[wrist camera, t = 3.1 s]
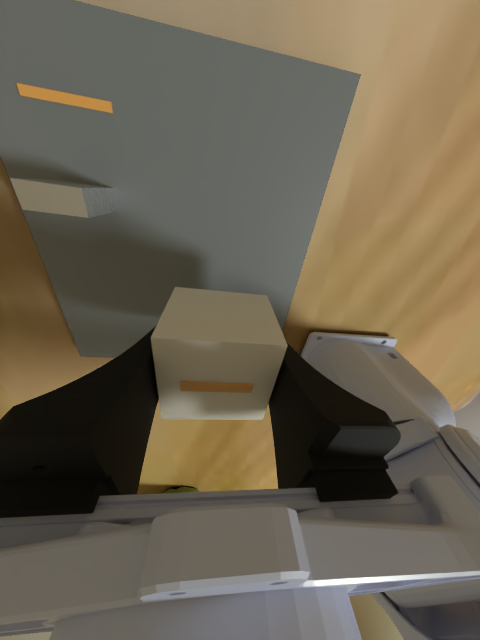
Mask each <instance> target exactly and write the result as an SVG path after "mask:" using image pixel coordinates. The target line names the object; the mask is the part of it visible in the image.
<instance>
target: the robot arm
mask: <svg viewBox="0 0 480 640" xmlns="http://www.w3.org/2000/svg"><path fill="white" fill-rule="evenodd" d="M156 326H157V325H156ZM156 326H155V327H154V328H153V329H152V330H151V331H149V332H148V333H147V334H146V335H145V336H144V337H143V338H141V339H140V340H139V341H138V342H137V343H135V344H134V345H133V346H131V347H130V348H129V349H127V350H126V351H125V352H123V353H122V354H121V355H119V356H118V357H116V358H115V359H113V360H111V361H110V362H108V363H107V364H105V365H103V366H102V367H100V368H98V369H96V370H94V371H92V372H91V373H89V374H87V375H85V376H83V377H81V378H79V379H77V380H75V381H73V382H71V383H69V384H67V385H65V386H62V387H60V388H58V389H56V390H53V391H51V392H49V393H46V394H44V395H41V396H39V397H36V398H34V399H31V400H29V401H26V402H24V403H21V404H19V405H16V406H13V407H12V408H11V409H10V410H9V411H8V412H7V413H6V414H5V415H4V416H3V417H2V419H1V420H0V637H1V636H11V635H21V634H30V633H39V632H50V631H52V634H51V636H50V639H49V640H362V639H361V635H360V632H359V629H358V625H357V622H356V619H355V616H354V612H353V609H352V606H351V603H350V599H349V596H354V595H361V594H369V593H370V594H371V595H372V596H373V597H374V598H375V600H376V601H377V602H378V603H379V604H380V605H381V606H382V608H383V609H384V610H385V611H386V613H387V614H388V615H389V617H390V618H391V620H392V621H393V623H394V624H395V626H396V627H397V629H398V630H399V632H400V634H401V635H402V637H403V639H404V640H480V439H479V438H478V437H476V436H475V435H474V434H472V433H471V432H470V431H468V430H465V429H461V428H457V427H456V422H455V417H454V413H453V411H452V408H451V406H450V404H449V403H448V401H447V399H446V398H445V396H444V395H443V394H442V393H441V392H440V391H439V390H438V389H437V388H436V387H435V386H434V385H433V384H432V383H431V382H430V381H429V380H428V379H427V378H425V377H424V376H423V375H422V374H421V373H420V372H419V371H418V370H417V369H416V368H415V367H414V366H413V365H412V364H411V363H409V362H408V361H407V360H406V359H405V358H404V357H403V356H402V355H401V354H400V353H399V352H398V351H397V350H396V349H395V348H393V347H394V346H395V345H396V343H397V339H396V338H394V337H385V336H370V335H355V334H340V333H325V332H312V333H310V334H309V336H308V338H307V341H306V343H305V346H304V348H303V351H302V353H301V356H300V355H299V354H298V353H297V352H296V351H295V350H294V349H293V348H292V347H291V346H290V345H289V344H288V343H287V342H286V343H287V345H288V346H287V349H286V352H285V355H284V358H283V361H282V364H281V367H280V370H279V373H278V376H277V379H276V382H275V384H274V387H273V390H272V393H271V396H270V399H269V402H268V404H269V409H270V416H271V423H272V430H273V438H274V447H275V457H276V467H277V479H278V489H264V490H238V491H213V492H187V493H162V494H137V491H138V486H139V481H140V476H141V471H142V466H143V461H144V457H145V452H146V448H147V443H148V439H149V435H150V430H151V426H152V422H153V418H154V414H155V410H156V406H157V403H158V400H159V396H158V388H157V381H156V373H155V366H154V359H153V351H152V344H151V336H152V334H153V332H154V330H155V328H156ZM319 336H320V337H319ZM318 337H319V338H318Z"/></svg>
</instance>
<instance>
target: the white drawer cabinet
mask: <svg viewBox="0 0 480 640" xmlns="http://www.w3.org/2000/svg"><path fill="white" fill-rule="evenodd" d="M151 344H152V351H153V359H154V366H155V373H156V381H157V388H158V396H159V403H160V411H161V418H162V419H217V420H263V417H264V414H265V411H266V408H267V405H268V402H269V399H270V396H271V393H272V390H273V387H274V384H275V382H276V379H277V376H278V373H279V370H280V367H281V364H282V361H283V358H284V355H285V352H286V349H287V346H288V345H287V343H286V340H285V338H284V335H283V333H282V331H281V328H280V326H279V323H278V321H277V318H276V316H275V313H274V311H273V309H272V306H271V304H270V301H269V299H268V296H267V295H259V294H248V293H237V292H226V291H215V290H204V289H193V288H182V287H175V288H174V290H173V292H172V294H171V297H170V299H169V301H168V303H167V305H166V307H165V309H164V311H163V313H162V315H161V317H160V319H159V321H158V323H157V326H156V328H155V330H154V332H153V334H152V336H151Z"/></svg>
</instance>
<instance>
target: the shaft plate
mask: <svg viewBox="0 0 480 640" xmlns="http://www.w3.org/2000/svg"><path fill="white" fill-rule="evenodd" d="M360 76H361V74H357V73H353V72H349V71H346V70H342V69H338V68H334V67H330V66H326V65H322V64H318V63H315V62H311V61H307V60H303V59H299V58H295V57H291V56H287V55H284V54H280V53H276V52H272V51H268V50H264V49H260V48H256V47H253V46H249V45H245V44H241V43H237V42H233V41H229V40H225V39H222V38H218V37H214V36H210V35H206V34H202V33H198V32H194V31H191V30H187V29H183V28H179V27H175V26H171V25H167V24H163V23H160V22H156V21H152V20H148V19H144V18H140V17H136V16H133V15H129V14H125V13H121V12H117V11H113V10H109V9H105V8H102V7H98V6H94V5H90V4H86V3H82V2H78V1H74V0H0V157H1V159H2V162H3V164H4V167H5V169H6V172H7V174H8V177H9V179H10V182H11V184H12V187H13V189H14V192H15V194H16V197H17V199H18V202H19V204H20V207H21V209H22V212H23V214H24V216H25V219H26V221H27V224H28V226H29V229H30V231H31V234H32V236H33V239H34V241H35V244H36V246H37V249H38V251H39V254H40V256H41V259H42V261H43V264H44V266H45V269H46V271H47V274H48V276H49V279H50V281H51V284H52V286H53V289H54V291H55V294H56V296H57V299H58V301H59V304H60V306H61V309H62V311H63V314H64V316H65V319H66V321H67V324H68V326H69V329H70V331H71V334H72V336H73V339H74V341H75V344H76V346H77V349H78V351H79V354H80V356H88V357H112V358H116V357H118V356H119V355H121V354H122V353H123V352H125V351H126V350H127V349H129V348H130V347H131V346H133V345H134V344H135V343H137V342H138V341H139V340H140V339H141V338H143V337H144V336H145V335H146V334H147V333H148V332H149V331H151V330H152V329H153V328H154V327H155V326H156V325H157V323H158V321H159V319H160V317H161V315H162V313H163V311H164V309H165V307H166V305H167V303H168V301H169V299H170V297H171V294H172V292H173V290H174V288H175V287H182V288H193V289H204V290H215V291H226V292H237V293H248V294H259V295H267V296H268V299H269V301H270V304H271V306H272V309H273V311H274V313H275V316H276V318H277V321H278V323H279V326H280V328H281V331H283V327H284V324H285V321H286V317H287V314H288V311H289V308H290V304H291V301H292V298H293V295H294V291H295V288H296V285H297V281H298V278H299V275H300V272H301V268H302V265H303V262H304V259H305V255H306V252H307V249H308V246H309V242H310V239H311V236H312V232H313V229H314V226H315V223H316V219H317V216H318V213H319V210H320V206H321V203H322V200H323V197H324V193H325V190H326V187H327V183H328V180H329V177H330V174H331V170H332V167H333V164H334V161H335V157H336V154H337V151H338V147H339V144H340V141H341V138H342V134H343V131H344V128H345V125H346V121H347V118H348V115H349V112H350V108H351V105H352V102H353V98H354V95H355V92H356V89H357V85H358V82H359V79H360Z"/></svg>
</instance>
